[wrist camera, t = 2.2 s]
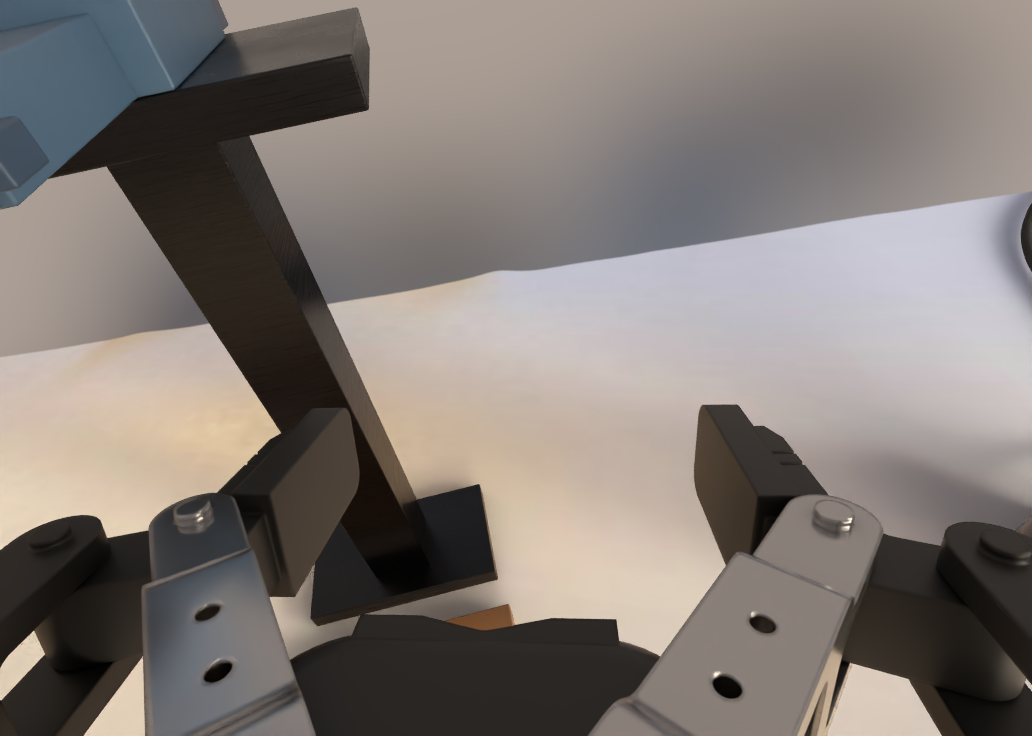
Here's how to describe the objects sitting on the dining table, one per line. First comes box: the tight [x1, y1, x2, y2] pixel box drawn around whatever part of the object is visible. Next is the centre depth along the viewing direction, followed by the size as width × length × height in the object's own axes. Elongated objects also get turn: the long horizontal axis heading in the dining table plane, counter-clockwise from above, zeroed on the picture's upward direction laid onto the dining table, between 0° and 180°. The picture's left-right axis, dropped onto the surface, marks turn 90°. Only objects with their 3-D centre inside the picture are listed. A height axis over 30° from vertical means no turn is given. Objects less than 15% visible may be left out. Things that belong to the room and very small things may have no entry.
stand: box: [48, 8, 498, 626], centre depth 28 cm, size 8×14×31 cm, turn 101°
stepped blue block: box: [0, 0, 228, 209], centre depth 15 cm, size 18×4×3 cm, turn 11°
